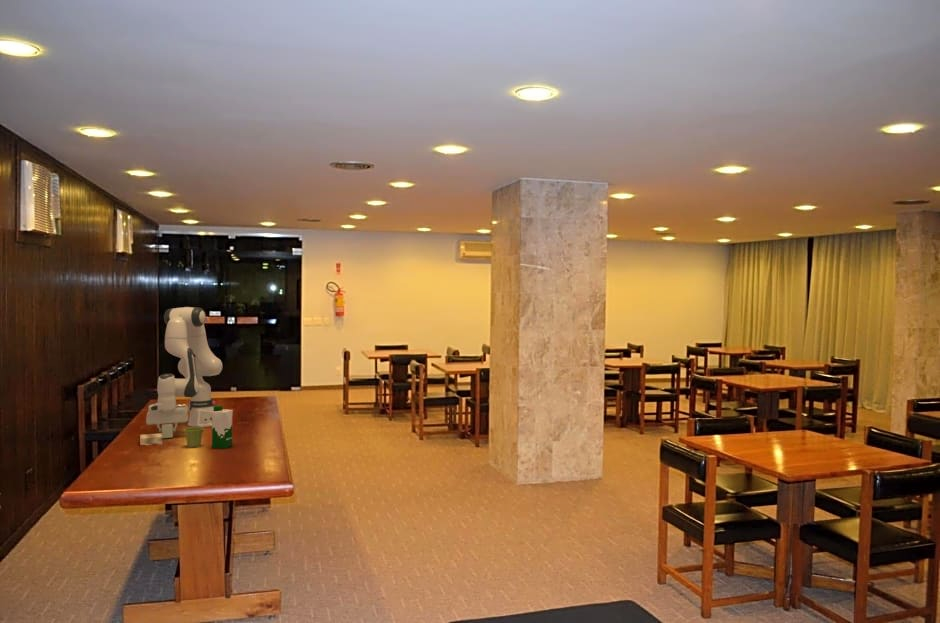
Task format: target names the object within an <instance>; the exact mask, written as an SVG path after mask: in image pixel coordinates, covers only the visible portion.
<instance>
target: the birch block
mask: <svg viewBox="0 0 940 623" xmlns="http://www.w3.org/2000/svg"><path fill="white" fill-rule="evenodd" d="M139 437H140V439H139V443H140V444H139V446H140V445H146V446H154V445H153V444H158V445H163V438H162V432H160V433H148V434H140V436H139Z"/></svg>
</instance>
